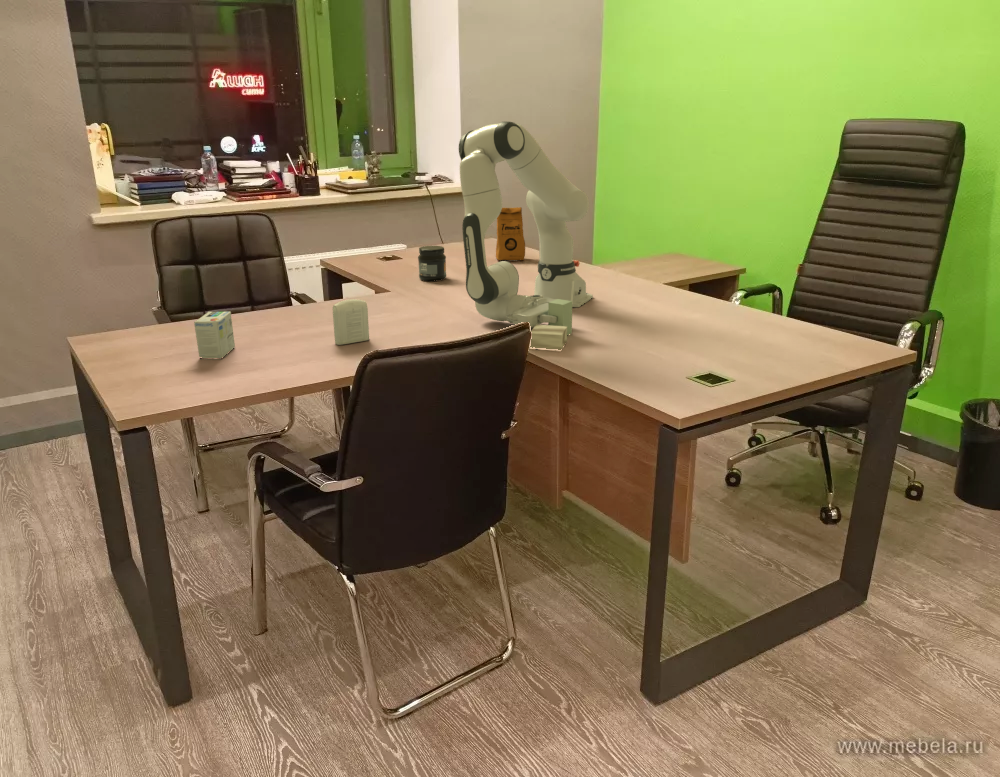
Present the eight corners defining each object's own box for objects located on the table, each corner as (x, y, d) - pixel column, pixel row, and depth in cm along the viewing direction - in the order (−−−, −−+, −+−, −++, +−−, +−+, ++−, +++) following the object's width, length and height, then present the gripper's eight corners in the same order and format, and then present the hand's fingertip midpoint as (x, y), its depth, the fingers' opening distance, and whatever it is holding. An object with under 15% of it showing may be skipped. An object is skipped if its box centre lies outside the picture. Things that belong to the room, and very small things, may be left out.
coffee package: (525, 262, 339) (525, 208, 332) (495, 262, 340) (494, 208, 332) (525, 257, 349) (525, 205, 341) (496, 257, 349) (495, 205, 341)
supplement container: (446, 275, 317) (445, 244, 312) (446, 281, 307) (445, 250, 302) (419, 276, 316) (418, 245, 312) (418, 282, 306) (416, 250, 302)
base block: (535, 341, 234) (536, 324, 233) (566, 343, 232) (567, 326, 231) (529, 350, 226) (529, 333, 225) (561, 352, 224) (561, 335, 222)
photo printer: (365, 337, 239) (362, 295, 235) (371, 340, 236) (369, 298, 232) (332, 343, 234) (329, 301, 230) (338, 346, 231) (335, 304, 226)
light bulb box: (212, 347, 231) (207, 310, 227) (236, 347, 231) (231, 310, 227) (198, 359, 221) (192, 321, 217) (223, 359, 221) (217, 321, 217)
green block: (557, 331, 242) (557, 298, 239) (571, 334, 240) (572, 301, 236) (548, 335, 239) (548, 302, 235) (562, 338, 236) (563, 304, 232)
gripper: (503, 307, 235) (543, 314, 228) (541, 293, 251) (580, 299, 243) (503, 328, 238) (543, 336, 230) (541, 313, 253) (580, 319, 246)
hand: (562, 317), depth 237 cm, fingers closed on green block, 5 cm apart
